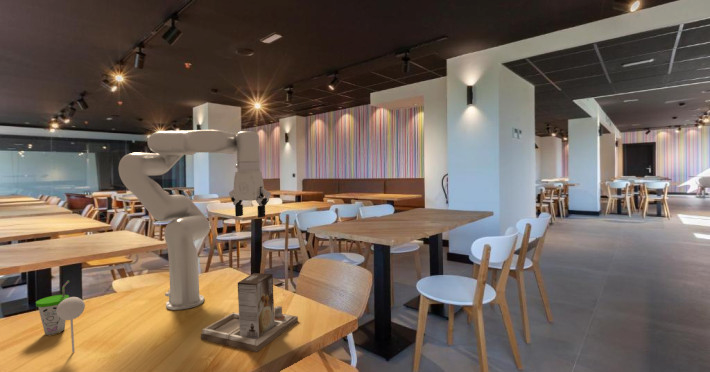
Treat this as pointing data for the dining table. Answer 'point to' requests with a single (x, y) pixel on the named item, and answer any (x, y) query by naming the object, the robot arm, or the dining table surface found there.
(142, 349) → the dining table surface
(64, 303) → the lollipop
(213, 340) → the grey compartment tray
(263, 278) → the coffee box
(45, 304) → the cup
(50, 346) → the dining table surface
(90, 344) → the dining table surface
